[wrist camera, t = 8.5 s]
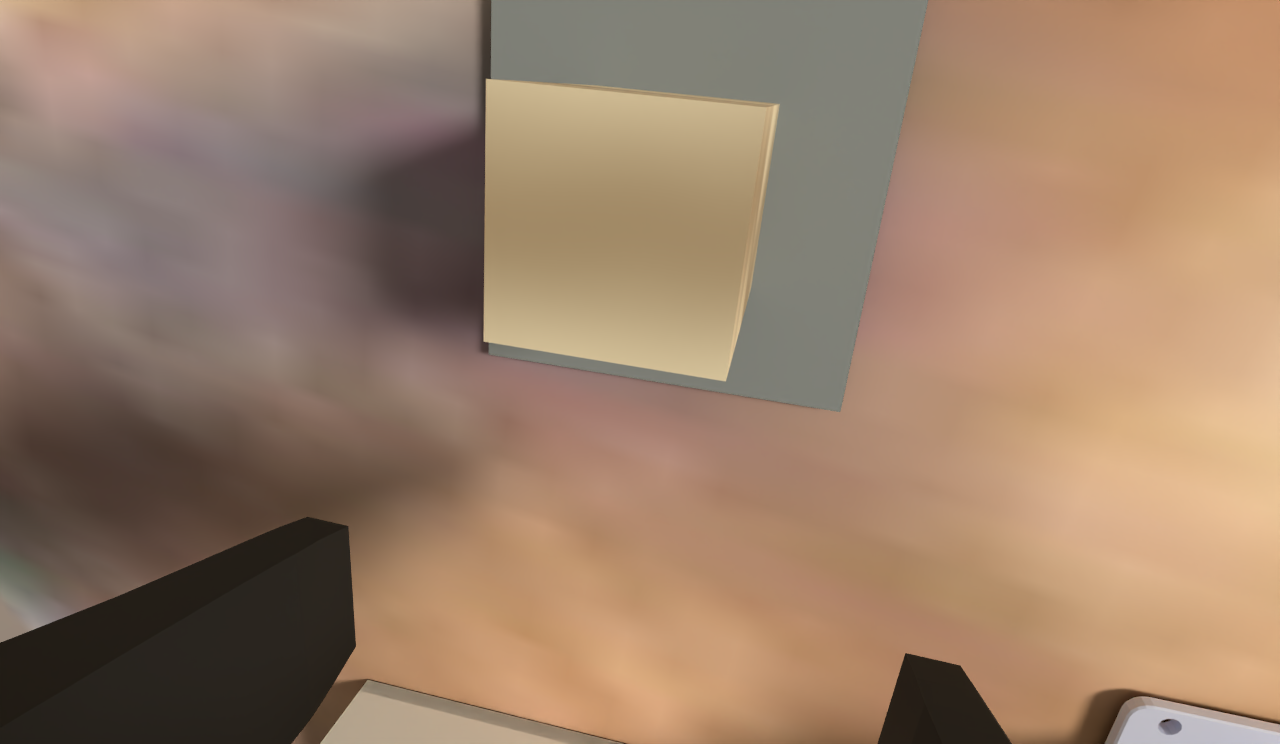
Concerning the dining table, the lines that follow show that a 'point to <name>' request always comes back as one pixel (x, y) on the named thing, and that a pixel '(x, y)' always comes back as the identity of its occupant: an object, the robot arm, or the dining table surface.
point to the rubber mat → (801, 158)
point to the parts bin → (437, 722)
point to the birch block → (622, 222)
